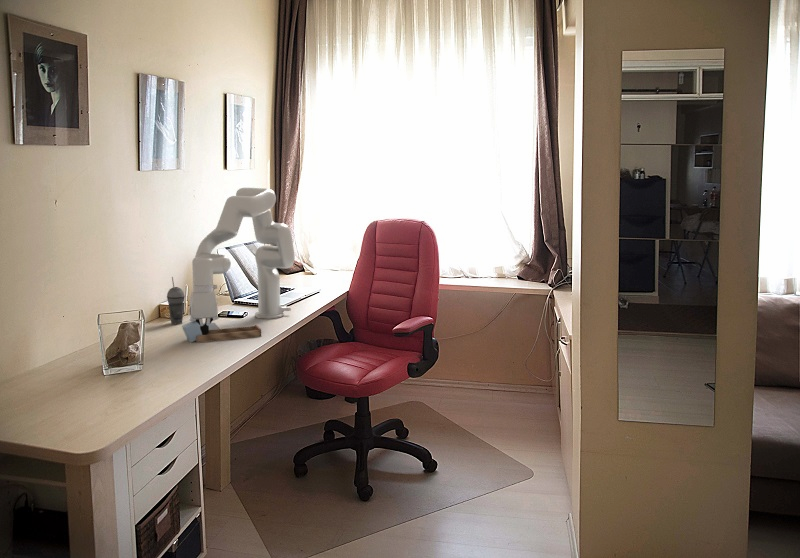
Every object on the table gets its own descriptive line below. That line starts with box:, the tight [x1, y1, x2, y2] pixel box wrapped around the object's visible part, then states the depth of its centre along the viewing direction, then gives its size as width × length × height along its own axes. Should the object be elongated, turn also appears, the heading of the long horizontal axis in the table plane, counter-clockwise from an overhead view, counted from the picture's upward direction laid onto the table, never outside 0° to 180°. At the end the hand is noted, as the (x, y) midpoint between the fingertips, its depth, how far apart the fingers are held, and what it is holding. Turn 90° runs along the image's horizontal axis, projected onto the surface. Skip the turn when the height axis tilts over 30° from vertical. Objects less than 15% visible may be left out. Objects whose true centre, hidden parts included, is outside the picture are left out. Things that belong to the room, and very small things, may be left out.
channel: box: [196, 324, 262, 343], centre depth 284 cm, size 25×8×3 cm, turn 115°
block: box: [181, 321, 202, 343], centre depth 278 cm, size 5×5×6 cm
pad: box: [198, 322, 221, 330], centre depth 295 cm, size 12×12×1 cm
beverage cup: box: [166, 276, 186, 326], centre depth 303 cm, size 7×7×20 cm
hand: (204, 335), depth 281 cm, fingers closed
